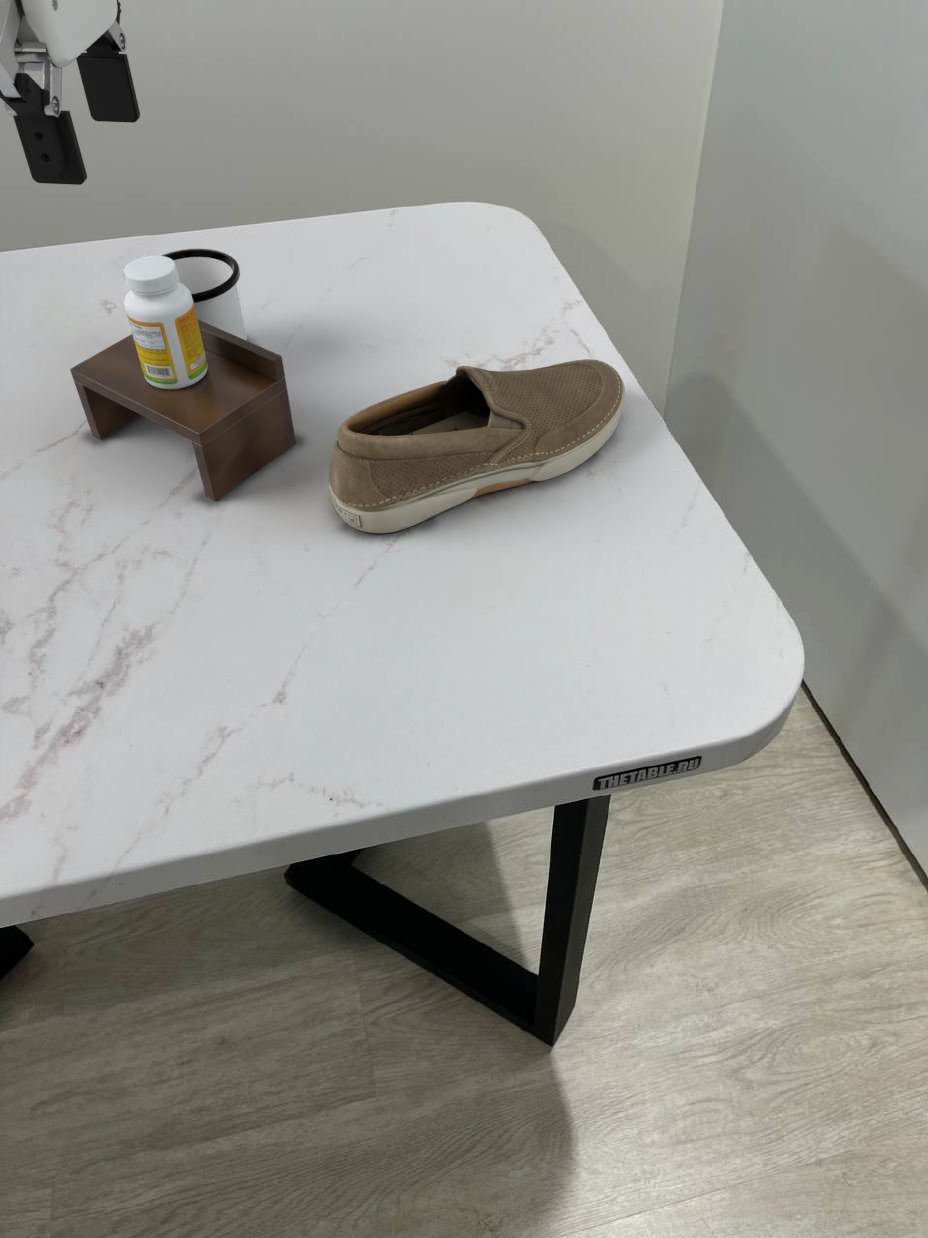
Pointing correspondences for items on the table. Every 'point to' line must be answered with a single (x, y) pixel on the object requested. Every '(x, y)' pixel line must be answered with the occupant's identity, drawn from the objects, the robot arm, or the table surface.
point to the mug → (212, 287)
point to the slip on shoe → (469, 440)
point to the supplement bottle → (164, 324)
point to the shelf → (198, 404)
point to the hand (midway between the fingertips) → (90, 149)
